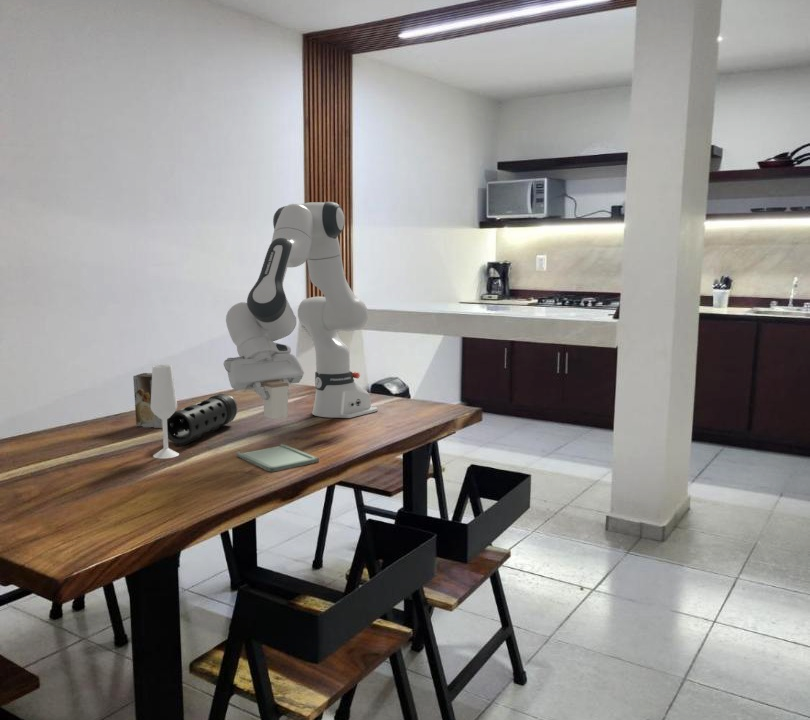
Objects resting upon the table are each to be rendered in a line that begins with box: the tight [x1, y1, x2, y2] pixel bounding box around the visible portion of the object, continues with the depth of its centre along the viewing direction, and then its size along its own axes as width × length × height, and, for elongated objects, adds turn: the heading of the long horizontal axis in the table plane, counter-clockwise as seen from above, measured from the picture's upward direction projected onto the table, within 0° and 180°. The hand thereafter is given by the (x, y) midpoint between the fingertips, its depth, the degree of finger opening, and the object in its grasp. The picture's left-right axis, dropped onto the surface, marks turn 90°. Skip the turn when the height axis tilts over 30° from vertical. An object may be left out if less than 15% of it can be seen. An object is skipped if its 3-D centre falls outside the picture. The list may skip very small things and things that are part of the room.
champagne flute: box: [151, 364, 180, 460], centre depth 191 cm, size 7×7×24 cm
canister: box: [262, 380, 289, 420], centre depth 187 cm, size 5×5×9 cm
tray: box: [236, 443, 320, 473], centre depth 189 cm, size 14×18×1 cm
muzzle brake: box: [167, 393, 239, 447], centre depth 214 cm, size 10×28×10 cm, turn 166°
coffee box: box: [133, 372, 163, 429], centre depth 225 cm, size 9×6×16 cm
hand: (276, 397), depth 186 cm, fingers closed on canister, 4 cm apart
